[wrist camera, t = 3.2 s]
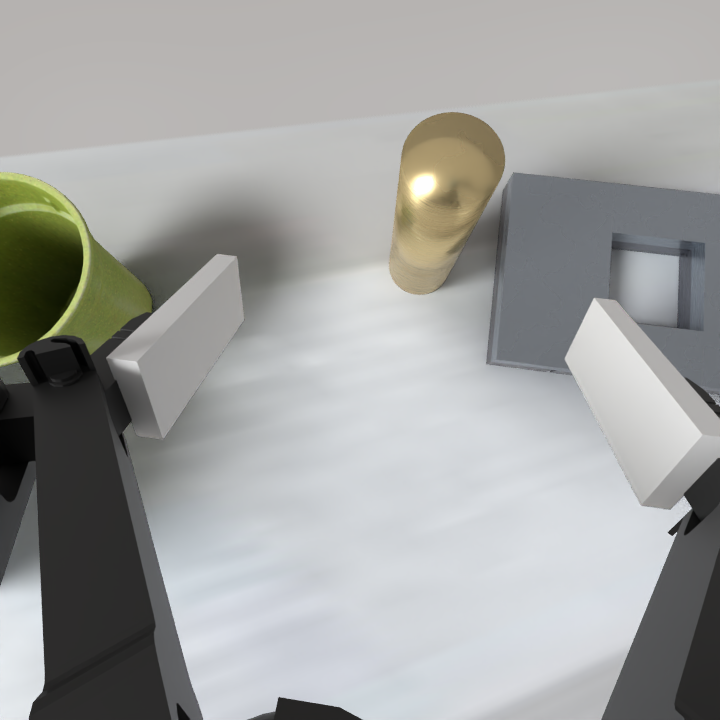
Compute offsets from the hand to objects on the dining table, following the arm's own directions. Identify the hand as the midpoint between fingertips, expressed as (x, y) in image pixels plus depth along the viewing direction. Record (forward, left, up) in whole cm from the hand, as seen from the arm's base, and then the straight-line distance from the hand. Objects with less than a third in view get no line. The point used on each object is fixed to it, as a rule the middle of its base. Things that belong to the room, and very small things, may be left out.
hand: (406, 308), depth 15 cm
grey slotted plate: (-13, -6, -11) cm, 18 cm away
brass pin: (-1, -6, -11) cm, 12 cm away
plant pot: (+19, 0, -11) cm, 22 cm away
